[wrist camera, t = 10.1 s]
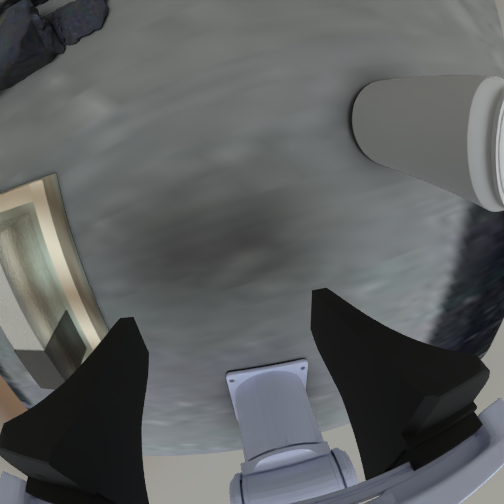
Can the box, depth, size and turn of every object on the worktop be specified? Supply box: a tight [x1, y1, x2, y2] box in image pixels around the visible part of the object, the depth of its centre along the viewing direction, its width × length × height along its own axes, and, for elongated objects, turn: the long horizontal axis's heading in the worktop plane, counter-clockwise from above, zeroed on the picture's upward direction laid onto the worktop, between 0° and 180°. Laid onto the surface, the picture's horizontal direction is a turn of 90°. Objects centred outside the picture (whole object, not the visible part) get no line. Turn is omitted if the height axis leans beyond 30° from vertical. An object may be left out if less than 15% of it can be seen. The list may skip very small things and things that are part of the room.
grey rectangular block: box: [0, 213, 87, 390], centre depth 16 cm, size 13×4×5 cm, turn 5°
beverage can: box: [352, 75, 504, 212], centre depth 12 cm, size 6×6×12 cm
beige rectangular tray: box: [0, 173, 109, 364], centre depth 18 cm, size 18×9×2 cm, turn 5°
